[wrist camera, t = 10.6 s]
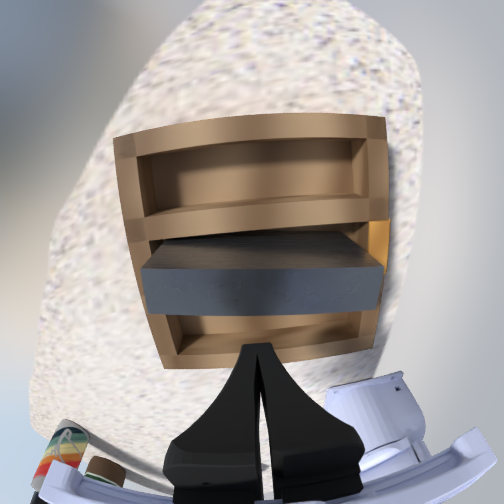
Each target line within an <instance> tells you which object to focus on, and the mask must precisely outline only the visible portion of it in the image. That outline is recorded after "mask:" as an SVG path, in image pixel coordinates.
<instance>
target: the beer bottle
mask: <svg viewBox="0 0 504 504" xmlns="http://www.w3.org/2000/svg"><path fill="white" fill-rule="evenodd" d="M125 475H126V471H125V470H124V469H123V468H122V467H121V466H120V465H118V464H116V463H114V462H112V461H110V460H108V459H106V458H102V457H98V456H94V457H93V458H92V459H91V460H90V462H89V464H88V467H87V470H86V472H85V475H84V476H85V477H88V478H91V479H94V480H97V481H100V482H104V483H107V484H111V485H114V486H118V487H122V488H123V484H124V480H125Z"/></svg>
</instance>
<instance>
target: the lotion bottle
mask: <svg viewBox="0 0 504 504" xmlns="http://www.w3.org/2000/svg"><path fill="white" fill-rule="evenodd" d="M89 438H90V437H89V434H88V433H87V432H86V431H85V430H84V429H83V428H82V427H80V426H79V425H77V424H76V423H74V422H72V421H70V420H66V419H63V420H61V422H60V423H59V425H58V427H57V429H56V431H55V433H54V435H53V437H52V439H51V441H50V443H49V445H48V447H47V449H46V451H45V453H44V455H43V457H42V460H41V462H40V464H39V466H38V469H37V471H36V473H35V475H34V478H33V480H32V483H31V486H32V487H33V488H34V489H35V490H36V491H37V492H36V491H35V492H34V495H33V497H32V500H31V503H30V504H49V503H47V502H46V501H44V500H43V499H41V498H40V497H39V496H38V495H39V492H40V490H41V487H42V485H43V482H44V480H45V477H46V475H47V473H48V470H49V468H50V466H51V464H52V461H53V460H57V461H59V462H62V463H64V464H67V465H69V466H72V467H73V468H75V469H77V470H78V467H79V465H80V462H81V459H82V457H83V454H84V452H85V449H86V447H87V444H88V442H89Z"/></svg>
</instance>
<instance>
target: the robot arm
mask: <svg viewBox="0 0 504 504" xmlns="http://www.w3.org/2000/svg"><path fill="white" fill-rule="evenodd" d="M402 377H403V372H402V371H398V372H395V373H391V374H388V375H384V376H380V377H376V378H373V379H369V380H364V381H360V382H356V383H351V384H347V385H342V386H337V387H332V388H329V389H328V390H327V392H326V398H325V405H324V409H323V408H322V407H321V406H320V405H318V404H317V403H316V402H315V401H313V400H312V399H311V398H310V397H309V396H308V395H307V394H306V393H305V392H304V391H303V390H302V389H301V388H300V387H299V386H298V385H297V383H296V382H295V381H294V380H293V379H292V377H291V376H290V375H289V373H288V372H287V371H286V369H285V368H284V366H283V365H282V363H281V362H280V360H279V358H278V356H277V355H276V353H275V351H274V348H273V346H272V344H271V343H270V342H265V343H253V344H243V345H242V346H241V350H240V354H239V356H238V359H237V362H236V364H235V366H234V369H233V371H232V373H231V375H230V377H229V379H228V380H227V382H226V384H225V386H224V387H223V389H222V390H221V392H220V393H219V395H218V396H217V398H216V399H215V400H214V402H213V403H212V404H211V405H210V407H209V408H208V409H207V410H206V411H205V412H204V414H203V415H202V416H201V417H200V418H199V419H198V420H197V421H195V422H194V423H193V424H192V425H191V426H190V427H189V428H188V429H187V430H185V431H184V432H183V433H182V434H180V435H179V436H178V437H176V438H175V439H174V440H172V441H171V443H170V446H169V448H168V450H167V453H166V456H165V460H164V466H163V471H162V472H163V474H164V475H165V476H166V478H167V479H168V480H169V481H170V482H171V483H172V484H173V485H174V486H175V487H174V494H173V497H166V496H160V495H154V494H149V493H144V492H139V491H134V490H130V489H125V488H122V487H118V486H114V485H111V484H107V483H104V482H100V481H97V480H94V479H91V478H88V477H85V476H83V475H82V474H81V473H80V472H79V471H78V470H77V469H75V468H73V467H72V466H69V465H67V464H64V463H62V462H59V461H57V460H53V461H52V464H51V466H50V468H49V470H48V473H47V475H46V477H45V480H44V482H43V485H42V487H41V490H40V492H39V495H38V496H39V497H40V498H41V499H43V500H44V501H46V502H47V503H49V504H441V503H442V502H444V501H446V500H448V499H449V498H451V497H453V496H454V495H456V494H458V493H459V492H461V491H462V490H464V489H465V488H467V487H468V486H470V485H471V484H472V483H474V482H475V481H476V480H477V479H479V478H480V477H481V476H482V475H483V474H484V473H486V472H487V471H488V470H489V469H490V468H491V467H492V466H493V465H494V464H495V463H496V462H497V458H496V456H495V455H494V453H493V451H492V450H491V448H490V446H489V445H488V443H487V442H486V440H485V438H484V437H483V435H482V434H481V432H480V431H479V429H478V428H477V427H474V428H473V429H471V430H470V431H468V432H466V433H465V434H463V435H461V436H460V437H458V438H457V439H456V440H455V441H454V442H453V443H452V445H451V446H450V447H449V448H448V449H446V450H444V451H442V452H440V453H438V454H436V455H434V456H432V457H431V455H430V453H429V451H428V449H427V447H426V445H425V443H424V441H422V440H423V437H424V434H425V419H424V416H423V413H422V411H421V409H420V407H419V405H418V404H417V402H416V400H415V399H414V397H413V395H412V394H411V392H410V390H409V389H408V387H407V385H406V384H405V383H404V381H403V379H402ZM260 392H261V397H262V402H263V407H264V412H265V417H266V422H267V428H268V434H269V445H270V456H271V468H272V479H273V491H274V500H264V495H263V482H262V469H261V455H260V441H259V418H260ZM414 448H415V449H414Z"/></svg>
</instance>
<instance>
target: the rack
mask: <svg viewBox="0 0 504 504" xmlns="http://www.w3.org/2000/svg"><path fill="white" fill-rule="evenodd" d="M113 144H114V156H115V165H116V174H117V182H118V189H119V196H120V203H121V209H122V215H123V220H124V226H125V231H126V236H127V241H128V246H129V251H130V255H131V260H132V264H133V268H134V272H135V276H136V280H137V284H138V288H139V292H140V295H141V299H142V303H143V306H144V310H145V313H146V316H147V320H148V323H149V326H150V329H151V332H152V335H153V338H154V341H155V344H156V347H157V350H158V353H159V356H160V359H161V361H162V364H163V367H164V369H213V368H234V366H235V364H236V362H237V359H238V356H239V354H240V350H241V346H242V345H243V344H253V343H265V342H270V343H271V344H272V346H273V348H274V351H275V353H276V355H277V356H278V358H279V360H280V362H281V363H289V362H297V361H304V360H311V359H318V358H324V357H330V356H336V355H342V354H347V353H352V352H357V351H362V350H367V349H371V348H373V343H374V338H375V333H376V327H377V322H378V316H379V310H380V303H381V296H382V289H383V280H384V274H386V272H387V263H388V252H389V238H390V219H389V218H388V213H389V168H388V146H387V132H386V121H385V117H378V116H367V115H354V114H335V113H277V114H258V115H244V116H233V117H223V118H215V119H207V120H200V121H193V122H186V123H180V124H175V125H169V126H164V127H159V128H154V129H149V130H145V131H140V132H136V133H132V134H127V135H123V136H120V137H116V138H113ZM249 230H280V231H341V232H342V233H343V234H345V235H346V236H347V237H348V238H350V239H351V240H352V241H354V242H355V243H356V244H357V245H359V246H360V247H361V248H362V249H364V250H365V251H366V252H367V253H369V254H370V255H371V256H372V257H373V258H375V259H376V260H377V261H378V262H380V263H381V264H382V265H383V266H384V272H383V277H382V283H381V287H380V292H379V297H378V301H377V306H376V310H365V311H353V312H339V313H323V314H304V315H276V316H192V315H164V314H148V311H147V306H146V301H145V295H144V290H143V284H142V277H141V271H140V268H141V267H142V266H143V265H144V264H145V263H146V261H147V260H148V259H149V258H150V257H151V256H152V255H153V254H154V252H155V251H156V250H157V249H158V248H159V247H160V246H161V245H162V244H163V243H164V241H165V240H166V239H168V238H178V237H187V236H197V235H207V234H217V233H227V232H238V231H249Z"/></svg>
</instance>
